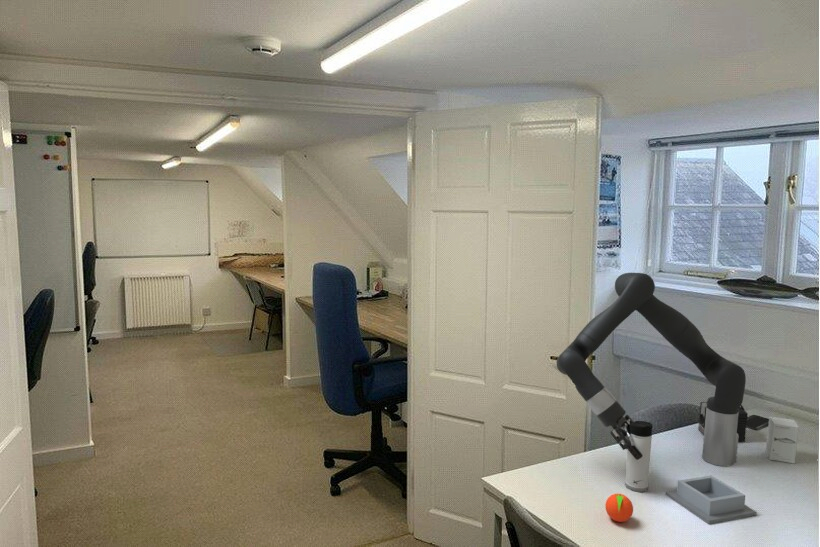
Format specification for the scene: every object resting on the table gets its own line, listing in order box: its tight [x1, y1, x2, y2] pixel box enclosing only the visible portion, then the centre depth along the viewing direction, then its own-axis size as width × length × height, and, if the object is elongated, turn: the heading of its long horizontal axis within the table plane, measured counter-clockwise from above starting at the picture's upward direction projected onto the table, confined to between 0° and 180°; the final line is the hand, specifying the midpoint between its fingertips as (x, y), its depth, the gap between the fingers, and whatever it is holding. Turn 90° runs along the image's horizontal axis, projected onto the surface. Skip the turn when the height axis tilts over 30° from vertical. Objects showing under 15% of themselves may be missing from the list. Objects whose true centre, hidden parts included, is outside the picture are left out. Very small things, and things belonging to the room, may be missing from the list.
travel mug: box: [624, 420, 653, 493], centre depth 174 cm, size 6×7×20 cm
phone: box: [746, 414, 769, 431], centre depth 227 cm, size 8×1×15 cm
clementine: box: [605, 493, 634, 523], centre depth 156 cm, size 8×7×7 cm
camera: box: [697, 401, 749, 443], centre depth 214 cm, size 11×14×15 cm
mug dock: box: [664, 474, 757, 525], centre depth 165 cm, size 16×16×5 cm
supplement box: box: [765, 416, 800, 464], centre depth 196 cm, size 7×7×13 cm
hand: (643, 452), depth 173 cm, fingers open, 8 cm apart
